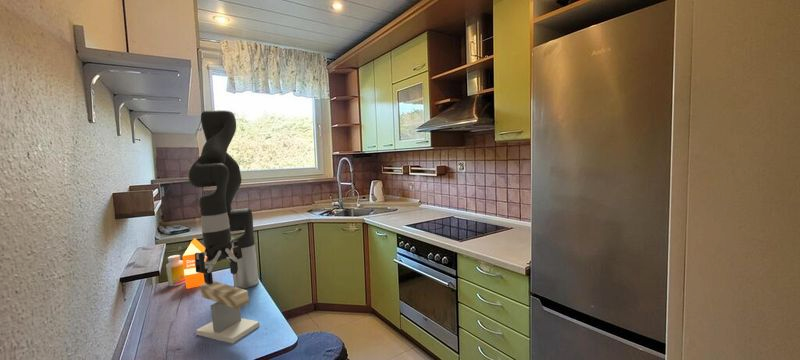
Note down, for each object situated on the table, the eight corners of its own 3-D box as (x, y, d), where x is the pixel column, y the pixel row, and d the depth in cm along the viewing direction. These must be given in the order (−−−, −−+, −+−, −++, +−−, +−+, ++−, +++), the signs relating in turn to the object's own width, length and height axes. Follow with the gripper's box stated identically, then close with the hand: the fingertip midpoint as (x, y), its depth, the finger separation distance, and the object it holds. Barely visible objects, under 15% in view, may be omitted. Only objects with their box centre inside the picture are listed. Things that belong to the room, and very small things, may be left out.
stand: (196, 334, 102) (192, 304, 102) (225, 318, 111) (221, 290, 111) (232, 343, 96) (228, 311, 95) (259, 326, 105) (256, 296, 104)
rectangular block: (249, 303, 99) (247, 290, 99) (236, 309, 96) (235, 296, 96) (214, 292, 110) (212, 280, 110) (201, 296, 107) (200, 285, 106)
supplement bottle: (189, 281, 151) (186, 254, 150) (177, 286, 145) (173, 258, 143) (178, 280, 152) (174, 253, 151) (164, 286, 146) (161, 258, 145)
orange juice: (186, 288, 142) (180, 243, 140) (190, 281, 150) (185, 239, 148) (206, 284, 144) (201, 240, 143) (209, 278, 153) (204, 236, 151)
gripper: (227, 222, 109) (233, 269, 110) (185, 233, 96) (192, 286, 97) (244, 223, 106) (249, 271, 107) (202, 234, 93) (209, 289, 94)
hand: (222, 278), depth 102 cm, fingers open, 8 cm apart
